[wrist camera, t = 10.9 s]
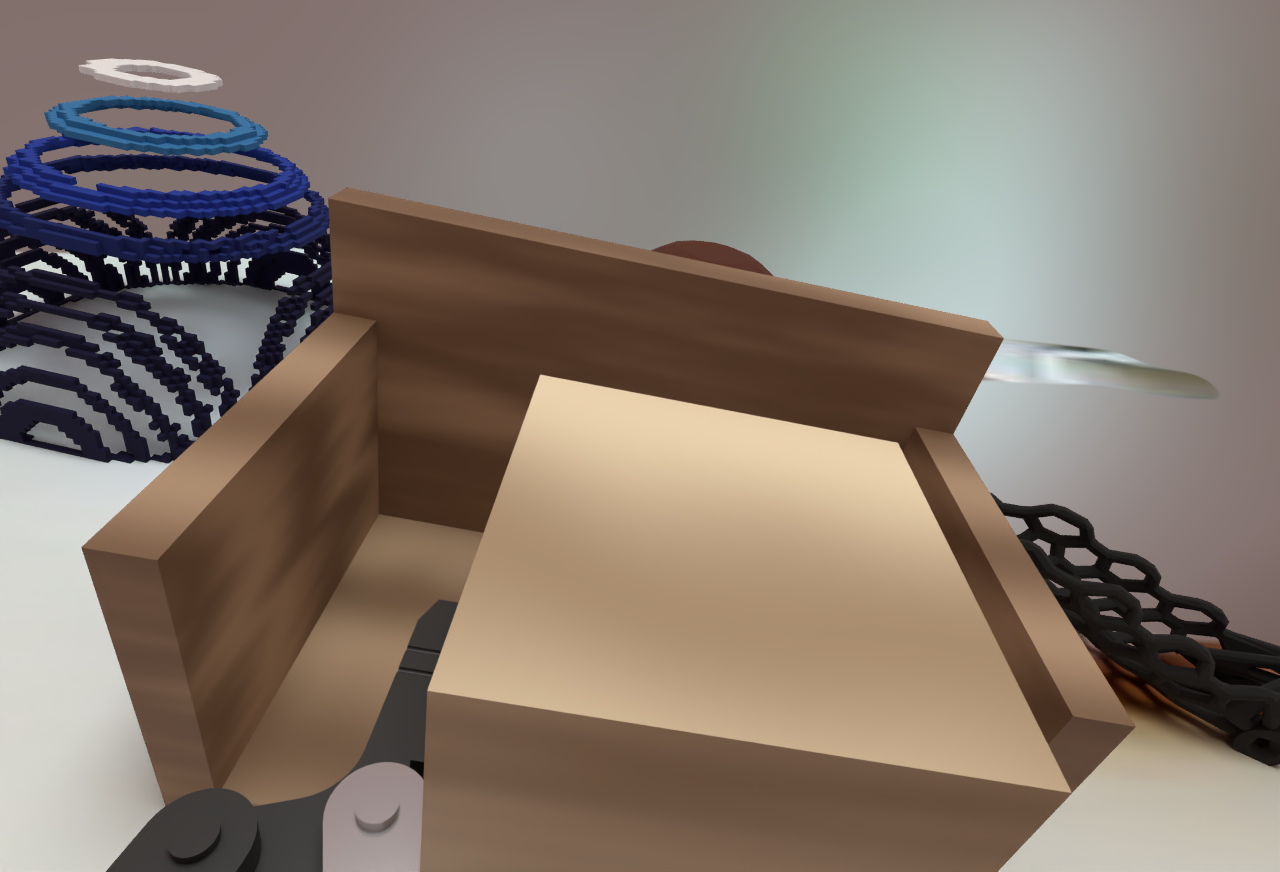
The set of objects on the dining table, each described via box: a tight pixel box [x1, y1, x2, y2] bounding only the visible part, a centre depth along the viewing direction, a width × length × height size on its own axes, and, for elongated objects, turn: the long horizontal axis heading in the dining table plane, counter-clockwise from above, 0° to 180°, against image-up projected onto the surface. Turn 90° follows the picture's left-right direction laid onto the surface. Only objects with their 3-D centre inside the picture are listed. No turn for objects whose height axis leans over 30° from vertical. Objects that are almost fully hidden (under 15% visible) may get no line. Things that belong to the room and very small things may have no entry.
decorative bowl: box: [0, 59, 334, 463], centre depth 35 cm, size 20×20×14 cm
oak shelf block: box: [420, 375, 1072, 872], centre depth 11 cm, size 6×6×12 cm
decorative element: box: [990, 493, 1280, 766], centre depth 31 cm, size 22×5×6 cm, turn 64°
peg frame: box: [81, 187, 1135, 806], centre depth 22 cm, size 14×23×14 cm, turn 87°
